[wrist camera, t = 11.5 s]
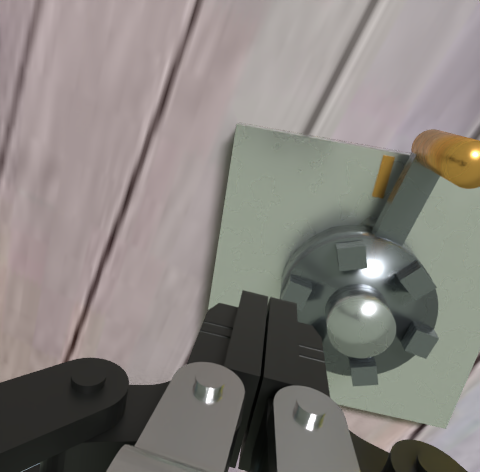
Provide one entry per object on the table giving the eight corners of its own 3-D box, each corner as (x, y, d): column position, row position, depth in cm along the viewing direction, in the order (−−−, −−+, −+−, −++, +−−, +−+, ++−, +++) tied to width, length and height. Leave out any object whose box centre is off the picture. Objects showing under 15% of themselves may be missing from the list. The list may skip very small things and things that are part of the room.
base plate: (203, 359, 39) (198, 373, 37) (240, 122, 31) (236, 124, 29) (438, 411, 37) (446, 429, 35) (536, 175, 30) (553, 181, 28)
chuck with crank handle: (358, 100, 28) (381, 102, 20) (511, 158, 28) (590, 182, 20) (261, 322, 34) (250, 386, 27) (384, 370, 34) (408, 447, 27)
